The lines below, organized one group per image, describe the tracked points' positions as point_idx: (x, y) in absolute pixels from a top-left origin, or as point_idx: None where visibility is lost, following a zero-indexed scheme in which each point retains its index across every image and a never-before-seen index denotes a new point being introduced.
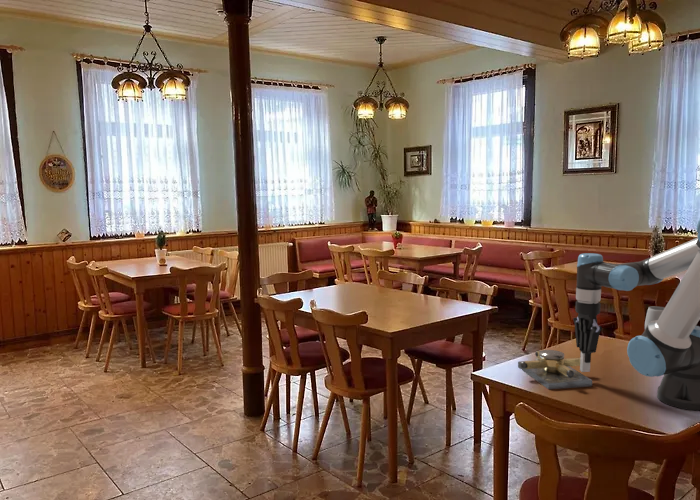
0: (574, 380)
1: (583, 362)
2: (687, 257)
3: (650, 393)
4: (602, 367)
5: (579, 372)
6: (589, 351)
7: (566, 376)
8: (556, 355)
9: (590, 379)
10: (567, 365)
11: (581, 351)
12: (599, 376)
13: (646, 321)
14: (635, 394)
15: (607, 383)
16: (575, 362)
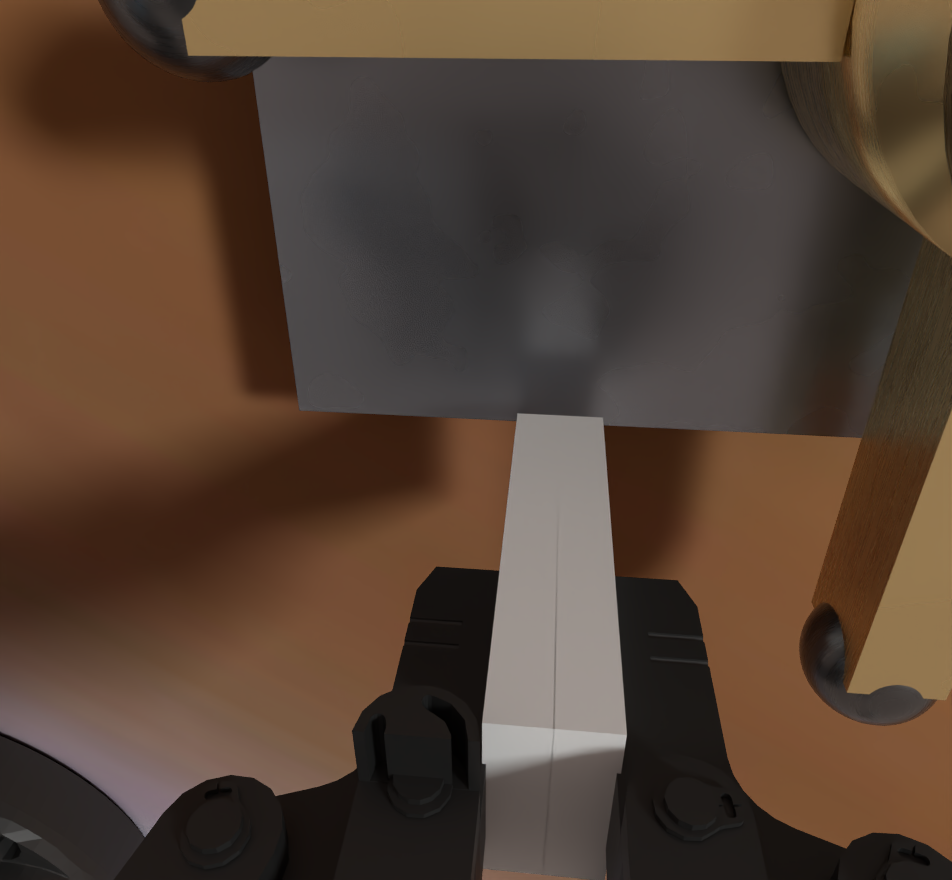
0: (311, 106)
1: (503, 541)
2: None
3: (110, 745)
4: (905, 808)
5: (684, 428)
6: (151, 842)
7: (554, 67)
8: None
9: (336, 405)
10: (903, 329)
11: (674, 761)
12: None
13: None
14: (69, 635)
15: (407, 585)
16: (871, 517)
